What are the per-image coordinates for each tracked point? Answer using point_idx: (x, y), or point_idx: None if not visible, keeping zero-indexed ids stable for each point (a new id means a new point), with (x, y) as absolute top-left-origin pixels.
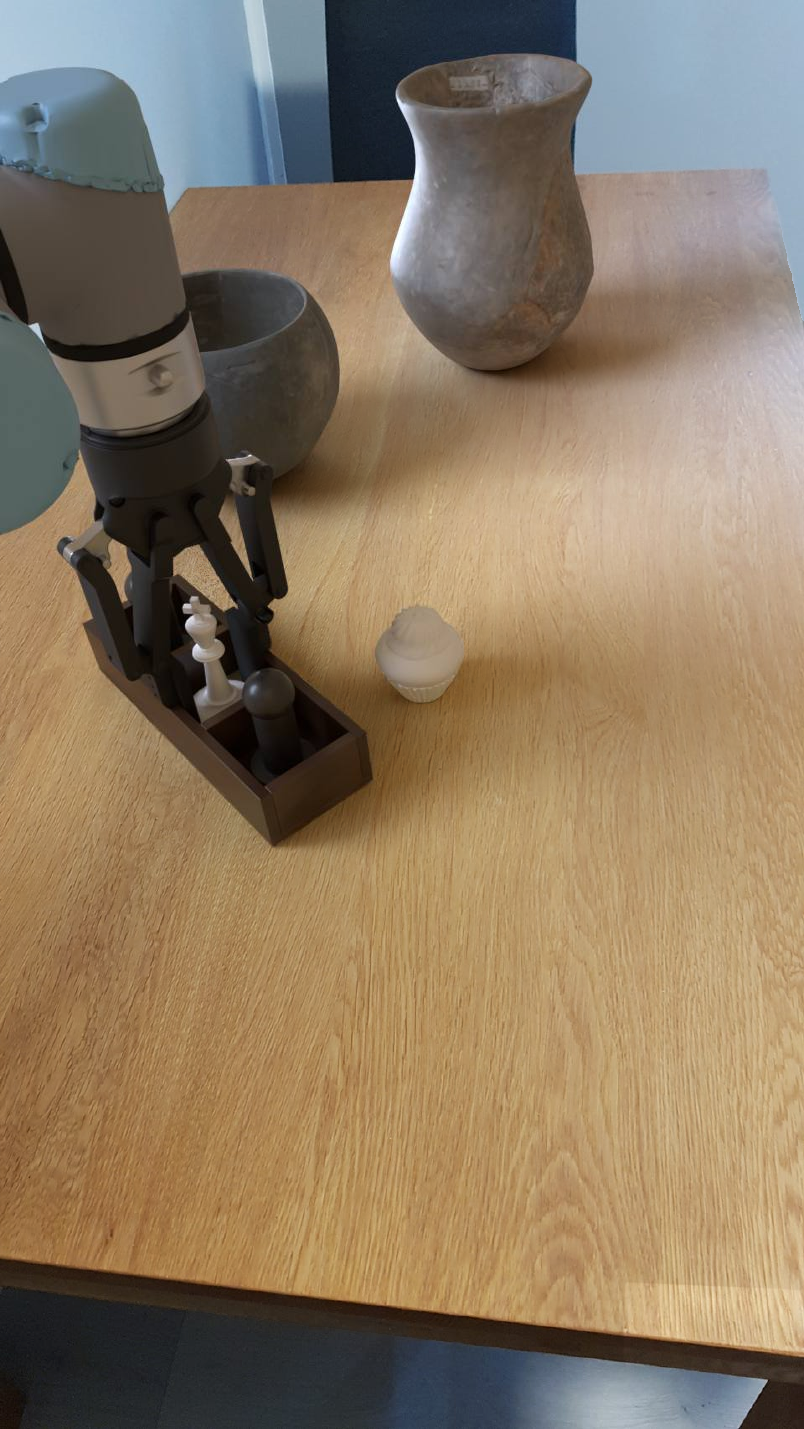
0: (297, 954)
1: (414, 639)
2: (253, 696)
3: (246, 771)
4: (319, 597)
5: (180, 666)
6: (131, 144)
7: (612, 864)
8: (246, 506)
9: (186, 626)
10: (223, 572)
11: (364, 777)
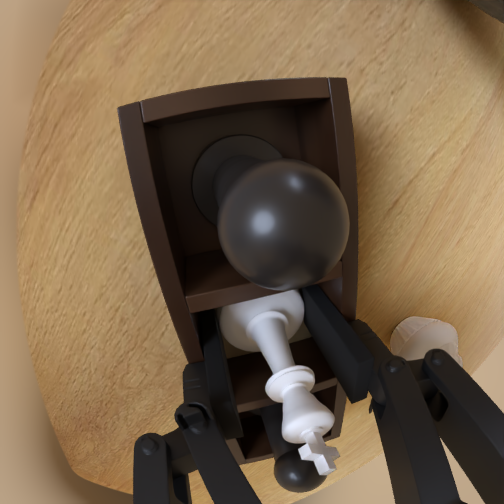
0: None
1: None
2: (286, 489)
3: (239, 451)
4: (428, 167)
5: (238, 436)
6: None
7: (360, 443)
8: (498, 495)
9: (286, 433)
10: (395, 478)
11: None
